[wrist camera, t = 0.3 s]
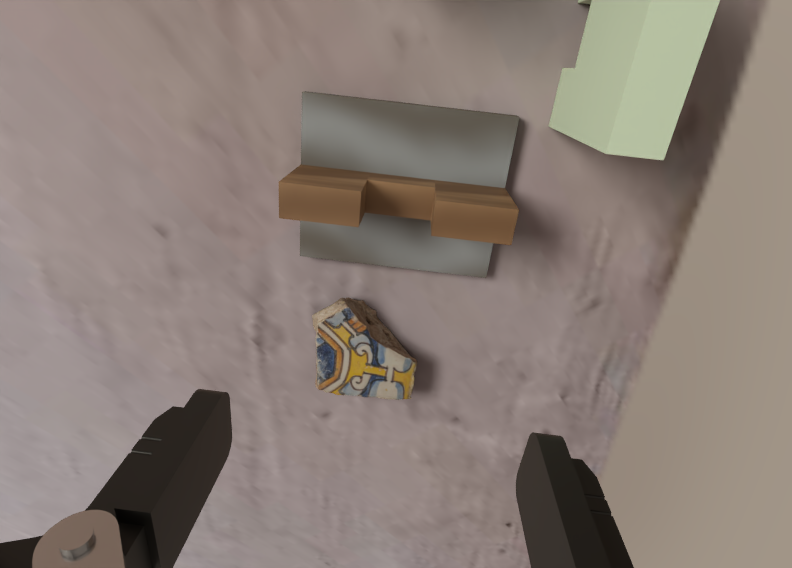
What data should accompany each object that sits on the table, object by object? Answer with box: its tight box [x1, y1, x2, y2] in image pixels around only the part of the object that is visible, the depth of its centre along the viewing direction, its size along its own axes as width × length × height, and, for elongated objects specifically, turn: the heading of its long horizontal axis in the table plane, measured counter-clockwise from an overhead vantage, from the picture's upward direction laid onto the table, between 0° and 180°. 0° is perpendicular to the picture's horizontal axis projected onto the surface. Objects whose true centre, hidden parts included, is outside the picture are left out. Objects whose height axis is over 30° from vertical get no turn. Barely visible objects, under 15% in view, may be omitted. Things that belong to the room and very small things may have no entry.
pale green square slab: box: [549, 0, 720, 160], centre depth 26 cm, size 12×3×12 cm, turn 174°
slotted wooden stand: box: [279, 91, 520, 278], centre depth 34 cm, size 13×16×7 cm
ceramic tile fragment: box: [312, 298, 417, 400], centre depth 43 cm, size 12×3×10 cm
